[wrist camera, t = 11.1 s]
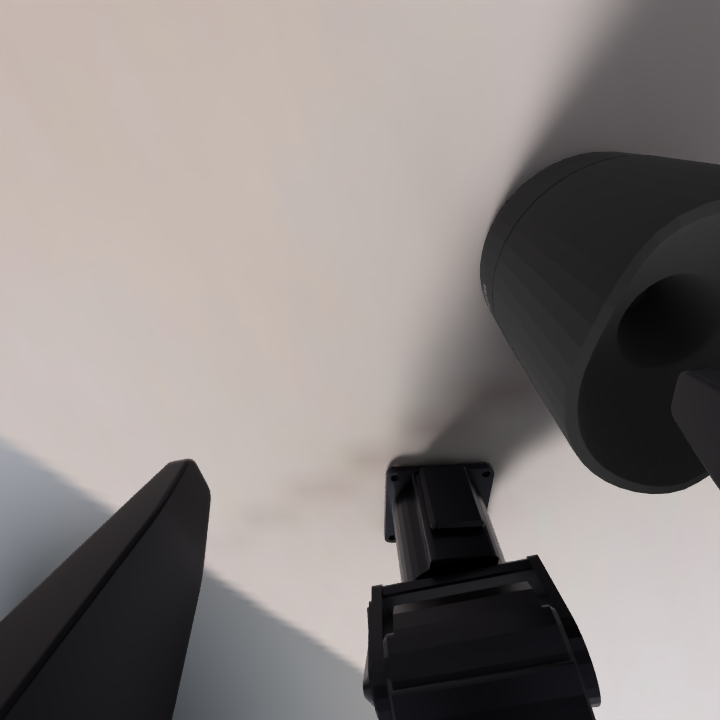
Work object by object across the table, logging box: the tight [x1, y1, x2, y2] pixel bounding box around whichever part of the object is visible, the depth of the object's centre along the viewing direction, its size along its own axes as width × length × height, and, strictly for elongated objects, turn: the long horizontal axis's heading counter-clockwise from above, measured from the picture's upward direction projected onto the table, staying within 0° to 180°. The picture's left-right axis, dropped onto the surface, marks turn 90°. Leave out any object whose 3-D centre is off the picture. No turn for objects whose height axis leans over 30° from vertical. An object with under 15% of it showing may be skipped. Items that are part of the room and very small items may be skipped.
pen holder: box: [480, 152, 720, 494], centre depth 16 cm, size 9×9×10 cm
